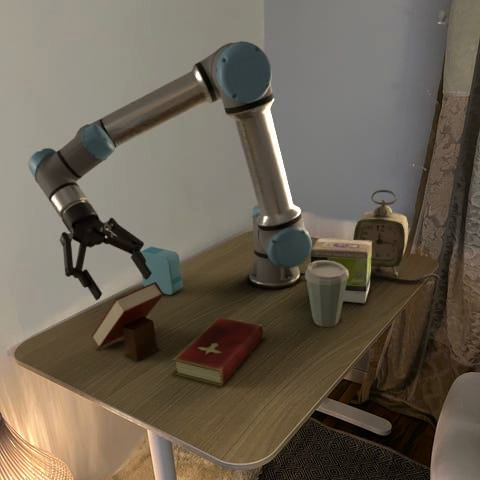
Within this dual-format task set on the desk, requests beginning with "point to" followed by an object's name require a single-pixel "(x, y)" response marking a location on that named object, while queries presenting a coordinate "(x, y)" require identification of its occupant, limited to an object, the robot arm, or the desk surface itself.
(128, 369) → the desk surface
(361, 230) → the tabletop clock
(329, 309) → the disposable coffee cup
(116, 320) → the book
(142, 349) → the walnut box
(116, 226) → the robot arm
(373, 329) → the desk surface
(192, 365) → the hardcover book
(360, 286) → the tea box
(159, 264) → the data package
